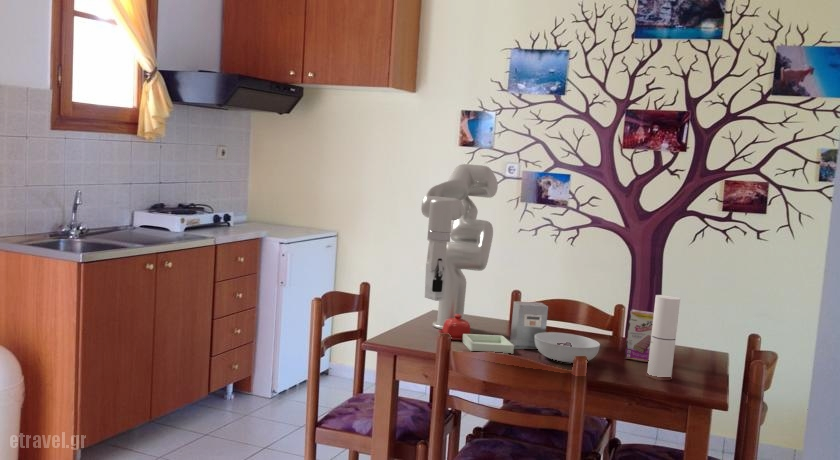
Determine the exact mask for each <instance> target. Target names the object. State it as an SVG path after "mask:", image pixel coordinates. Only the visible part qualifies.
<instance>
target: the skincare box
mask: <svg viewBox="0 0 840 460" xmlns="http://www.w3.org/2000/svg"><path fill="white" fill-rule="evenodd" d="M437 264H438V263H437ZM436 270H438V265H437V268H436ZM436 274H437V273H436ZM424 278H425V279H424V280H425V281H424V298H426V299H428V300H431V301H434V302H435V301H436V302H439V301H442V300H445V282H446V266H445V271H444V272H443V283H442V292H433V291H432V284H433V279H434V270H432V271H430V270H429V269H428V262H427V261H426V262H425V277H424Z"/></svg>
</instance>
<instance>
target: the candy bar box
mask: <svg viewBox="0 0 840 460" xmlns="http://www.w3.org/2000/svg"><path fill="white" fill-rule="evenodd" d="M653 316H654V311H653V312H651V311H646V310H645V311H644V310H638V309H630V312H629V319H628V320H629V321H628V326H627V334H626V336H627V337H626V342H625V343H626V344H625V352H624V358H625V357H630V358H637V359H644V360H649V352H650V343H651V334H652V325H653Z"/></svg>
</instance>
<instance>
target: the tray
mask: <svg viewBox="0 0 840 460" xmlns="http://www.w3.org/2000/svg"><path fill="white" fill-rule="evenodd" d="M508 340H509V339H507V338H506V337H505V336H503V335H499V334H498V335H496V334H493V335H492V334H477V333H476V334H474V333H471V334H463V338H462V340H461V341H462V343H463V344H464V346H466V347H467V349H468V350H469V351H470V352H471V351H494V352H503V353H502V354H508V353H511V355H512V354H514V351H515V349H514V345H513V344H512V343H510V342H509V341H508Z"/></svg>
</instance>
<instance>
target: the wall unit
mask: <svg viewBox="0 0 840 460" xmlns="http://www.w3.org/2000/svg"><path fill="white" fill-rule="evenodd" d="M548 311H549V306H548V305H546V304H544V303H543V302H538V301H537V302H536V301H535V302H532V301H516V300H515V301H513V307H512V315H511V316H512V317H511V328H510V338H509V339H507V340H508V341H509V342H510V343H512V344H513V345H514V350H524V349H537V347H536V345H535V338H534V336H535V335H536V334H538V333H543V332H547V323H548V313H549V312H548Z"/></svg>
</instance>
